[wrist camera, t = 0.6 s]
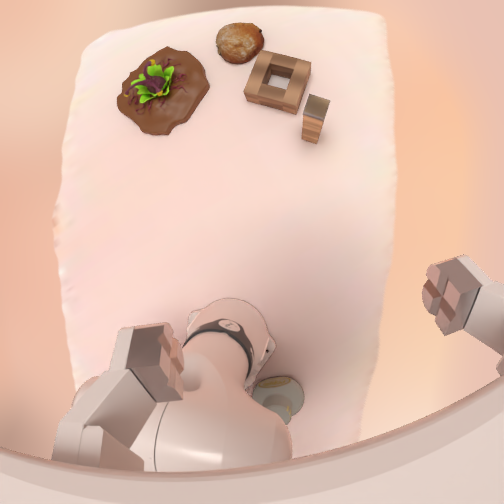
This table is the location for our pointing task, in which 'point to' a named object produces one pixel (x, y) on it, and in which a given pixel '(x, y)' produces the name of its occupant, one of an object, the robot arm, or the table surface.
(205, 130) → the table surface
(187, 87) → the plant
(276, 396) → the air freshener
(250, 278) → the table surface
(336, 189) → the table surface
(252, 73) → the square wooden socket base
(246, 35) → the bread roll
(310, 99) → the upright wooden post
